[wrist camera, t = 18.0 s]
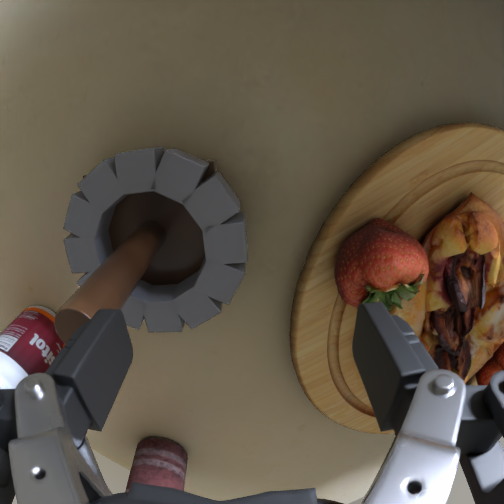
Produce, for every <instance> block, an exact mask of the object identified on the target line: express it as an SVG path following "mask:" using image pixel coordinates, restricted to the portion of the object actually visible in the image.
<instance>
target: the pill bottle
mask: <svg viewBox="0 0 504 504" xmlns="http://www.w3.org/2000/svg"><path fill="white" fill-rule="evenodd" d="M55 315H56V314H55V313H54V312H53V311H51V310H50V309H48V308H46V307H43V306H30V307H28V308H26V309H25V310H24V311H23V312H22V313H21V314H20V315H19V316H18V317H17V318H16V319H15V320H14V321H13V322H12V323H11V324H10V325H9V326H8V327H7V328H6V329H5V330H4V331H3V332H2V333H1V334H0V389H16V386H17V385H18V383H19V382H20V381H21V380H22V379H23V378H25V377H27V376H29V375H31V374H34V373H45V372H46V370H47V369H48V367H49V366H50V365H51V363H52V362H53V360H54V359H55V358H56V356H57V355H58V354H59V352H60V351H61V349H62V348H64V345H65V343H64V342H63V341H62V340H61V339H60V337H59V336H58V334H57V332H56V329H55V325H54V319H55Z"/></svg>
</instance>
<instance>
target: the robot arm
mask: <svg viewBox="0 0 504 504" xmlns="http://www.w3.org/2000/svg"><path fill="white" fill-rule="evenodd" d="M352 352H353V358H354V361H355V363H356V366H357V369H358V371H359V374H360V376H361V379H362V382H363V384H364V387H365V390H366V392H367V395H368V398H369V400H370V403H371V406H372V408H373V411H374V414H375V417H376V420H377V422H378V425H379V428H380V431H381V432H383V431H388V430H394V432H395V435H396V436H395V438H394V440H393V442H392V445H391V447H390V449H389V451H388V453H387V455H386V457H385V459H384V462H383V464H382V466H381V468H380V470H379V471H378V473H377V475H376V477H375V479H374V481H373V483H372V485H371V487H370V488H369V490H368V492H367V494H366V495H365V497H364V499H363V500H362V502H361V504H446V502H447V499H448V496H449V493H450V490H451V487H452V483H453V480H454V477H455V473H456V469H457V466H458V461H460V464H461V466H462V469H463V471H464V474H465V477H466V479H467V482H468V485H469V487H470V490H471V493H472V496H473V498H474V501H475V504H504V449H503V447H502V446H501V443H500V441H499V439H500V438H501V437H502V436H503V437H504V370H503V371H498V372H496V373H495V374H494V375H493V376H492V377H491V379H490V381H489V383H488V385H465V383H464V381H463V380H462V379H461V378H460V377H459V376H458V375H457V374H455V373H453V372H451V371H448V370H444V369H439V368H438V366H437V365H436V363H435V362H434V360H433V359H432V357H431V356H430V354H429V353H428V351H427V350H426V348H425V347H424V345H423V344H422V342H420V339H419V338H418V337H417V335H416V334H415V332H414V331H413V329H412V328H411V326H410V325H409V324H408V323H407V322H406V321H405V320H403V319H402V318H400V317H399V316H397V315H392V316H391V314H390V313H389V311H388V310H387V308H386V307H385V305H384V304H383V303H382V302H373V303H361V304H359V306H358V309H357V316H356V323H355V329H354V336H353V342H352ZM132 359H133V348H132V343H131V340H130V337H129V333H128V329H127V326H126V322H125V318H124V315H123V313H122V311H121V310H120V309H99V310H98V311H97V312H96V313H95V315H94V316H93V317H92V319H91V320H90V321H89V322H86V323H85V324H84V325H82V326H81V327H79V328H78V329H77V330H76V331H75V332H74V333H73V335H72V336H71V337H70V339H69V341H67V343H66V344H65V345H64V348H62V349H61V351H60V352H59V354H58V355H57V356H56V358H55V359H54V360H53V362H52V363H51V365H50V366H49V367H48V369H47V370H46V372H45V373H34V374H31V375H29V376H27V377H25V378H23V379H22V380H21V381H20V382H19V383H18V385H17V386H16V389H0V504H12V502H13V499H14V496H15V494H16V499H17V504H343V503H339V502H336V501H331V500H326V499H317V496H316V489H315V488H310V489H300V490H287V491H269V492H265V493H260V494H256V495H251V496H247V497H242V498H237V499H232V500H226V501H215V500H211V499H208V498H204V497H201V496H197V495H194V494H191V493H188V492H184V491H181V490H178V489H175V488H171V487H163V486H155V485H149V484H143V483H137V482H132V483H131V487H130V490H129V492H125V493H117V494H112V493H111V491H110V490H109V489H108V487H107V485H106V483H105V481H104V479H103V476H102V474H101V472H100V469H99V467H98V464H97V462H96V459H95V457H94V454H93V451H92V449H91V446H90V443H89V441H88V439H87V437H86V433H87V430H88V429H91V430H96V431H102V429H103V426H104V424H105V422H106V419H107V417H108V415H109V412H110V410H111V408H112V405H113V403H114V401H115V398H116V396H117V394H118V392H119V389H120V387H121V385H122V383H123V380H124V378H125V376H126V374H127V372H128V369H129V367H130V365H131V363H132Z"/></svg>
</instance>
